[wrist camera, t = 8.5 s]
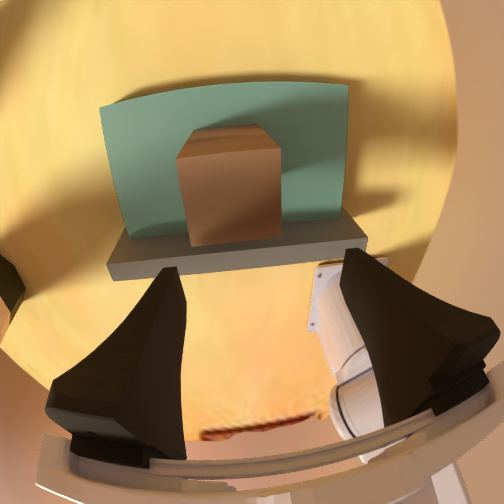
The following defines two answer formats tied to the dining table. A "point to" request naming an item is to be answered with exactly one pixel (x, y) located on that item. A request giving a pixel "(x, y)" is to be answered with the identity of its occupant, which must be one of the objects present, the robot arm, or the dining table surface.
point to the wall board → (223, 115)
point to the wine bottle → (9, 294)
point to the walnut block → (231, 185)
